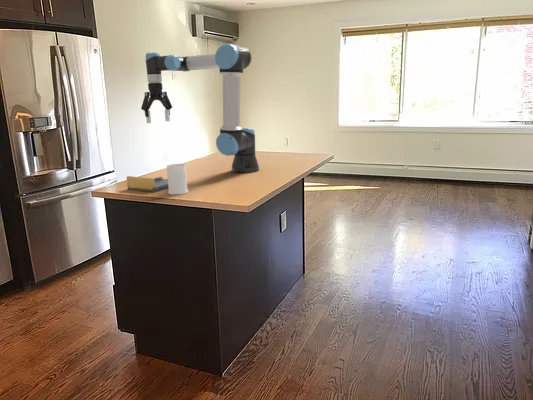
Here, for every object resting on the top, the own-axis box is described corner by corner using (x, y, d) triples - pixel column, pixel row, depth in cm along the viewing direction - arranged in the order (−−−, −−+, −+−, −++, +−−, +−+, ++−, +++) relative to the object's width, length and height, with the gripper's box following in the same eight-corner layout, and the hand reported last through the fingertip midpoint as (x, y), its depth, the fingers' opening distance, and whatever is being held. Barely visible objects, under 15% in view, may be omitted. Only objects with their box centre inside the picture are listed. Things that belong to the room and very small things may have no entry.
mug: (179, 188, 197) (177, 162, 195) (195, 189, 194) (193, 162, 191) (164, 194, 187) (162, 166, 184) (181, 195, 184) (179, 167, 181)
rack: (186, 182, 209) (185, 170, 207) (153, 192, 190) (152, 179, 189) (161, 180, 217) (160, 168, 215) (127, 189, 198) (126, 176, 197)
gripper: (167, 83, 247) (170, 120, 252) (131, 82, 227) (136, 123, 232) (176, 82, 243) (179, 120, 248) (141, 82, 223) (145, 123, 228)
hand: (158, 122), depth 240 cm, fingers open, 13 cm apart
